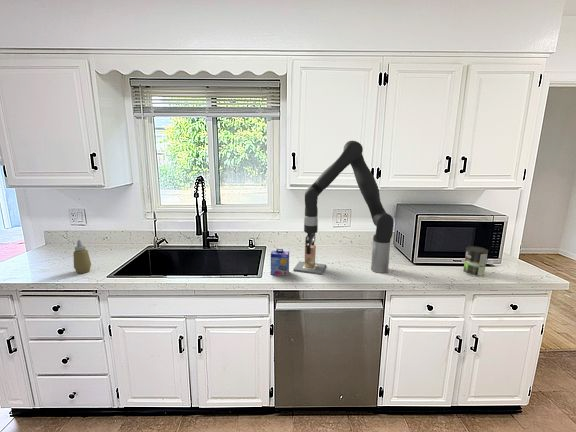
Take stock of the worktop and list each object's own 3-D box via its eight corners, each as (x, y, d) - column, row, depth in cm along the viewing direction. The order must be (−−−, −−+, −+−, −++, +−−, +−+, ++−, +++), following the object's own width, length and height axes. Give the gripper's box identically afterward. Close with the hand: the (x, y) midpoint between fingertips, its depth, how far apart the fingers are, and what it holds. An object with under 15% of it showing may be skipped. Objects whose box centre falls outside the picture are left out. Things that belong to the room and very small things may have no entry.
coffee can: (467, 276, 169) (470, 251, 166) (460, 269, 179) (463, 245, 176) (487, 277, 167) (491, 252, 164) (479, 270, 177) (483, 246, 174)
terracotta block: (315, 255, 178) (315, 245, 177) (313, 258, 173) (313, 248, 172) (306, 254, 180) (307, 244, 178) (304, 257, 175) (304, 247, 174)
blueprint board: (325, 266, 182) (325, 264, 182) (321, 274, 170) (321, 272, 170) (299, 262, 187) (299, 260, 186) (293, 270, 174) (293, 268, 174)
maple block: (315, 265, 179) (315, 255, 178) (313, 268, 175) (313, 258, 173) (306, 264, 181) (306, 254, 180) (304, 267, 176) (304, 257, 175)
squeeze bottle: (93, 268, 176) (89, 237, 172) (90, 273, 169) (85, 241, 165) (76, 270, 174) (72, 239, 170) (72, 275, 166) (67, 243, 162)
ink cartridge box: (270, 275, 169) (270, 249, 166) (271, 271, 174) (271, 246, 171) (288, 275, 168) (288, 250, 165) (289, 271, 173) (289, 246, 170)
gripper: (314, 227, 165) (313, 256, 168) (320, 221, 178) (319, 248, 182) (301, 226, 167) (300, 254, 170) (307, 220, 180) (306, 247, 184)
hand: (310, 251), depth 176 cm, fingers open, 8 cm apart
